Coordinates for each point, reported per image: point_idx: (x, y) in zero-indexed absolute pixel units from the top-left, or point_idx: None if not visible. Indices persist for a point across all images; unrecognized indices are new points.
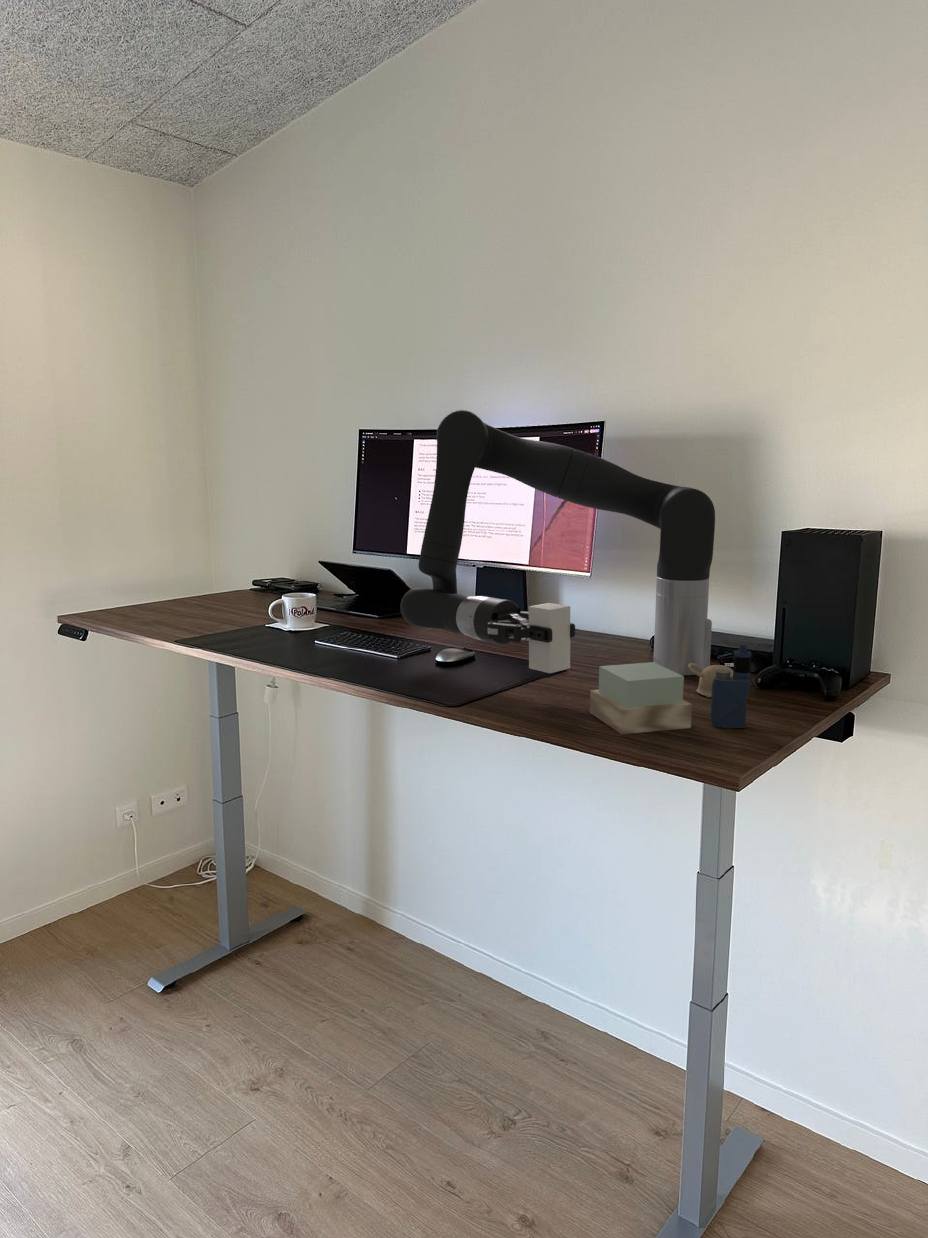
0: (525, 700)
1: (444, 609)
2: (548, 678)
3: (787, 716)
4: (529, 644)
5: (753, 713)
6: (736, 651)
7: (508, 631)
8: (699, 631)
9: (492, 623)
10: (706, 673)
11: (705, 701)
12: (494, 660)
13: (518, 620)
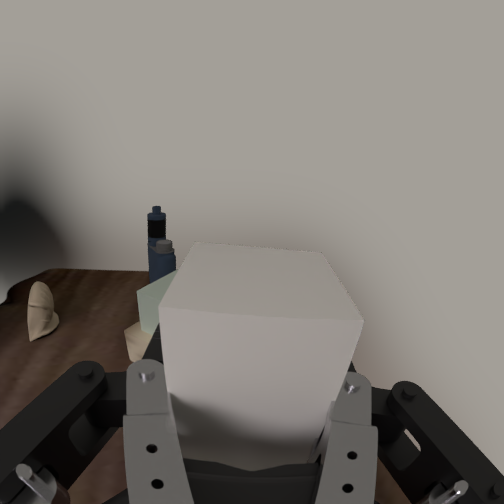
0: None
1: None
2: None
3: (102, 280)
4: (308, 455)
5: (104, 294)
6: (156, 215)
7: (413, 462)
8: None
9: (494, 479)
10: (45, 300)
11: (74, 327)
12: None
13: (375, 437)
